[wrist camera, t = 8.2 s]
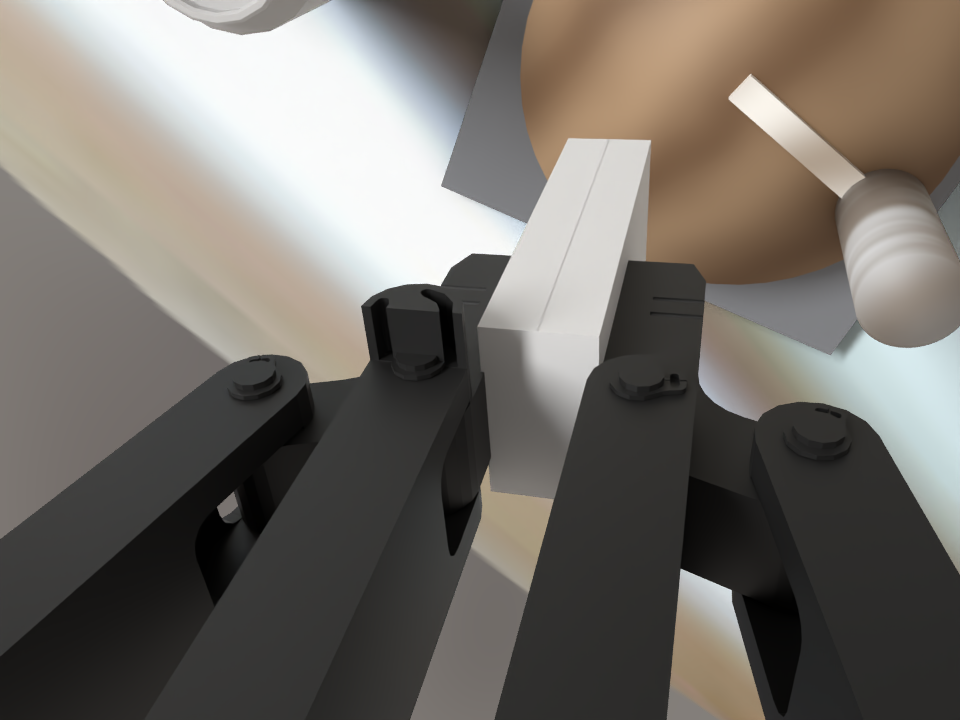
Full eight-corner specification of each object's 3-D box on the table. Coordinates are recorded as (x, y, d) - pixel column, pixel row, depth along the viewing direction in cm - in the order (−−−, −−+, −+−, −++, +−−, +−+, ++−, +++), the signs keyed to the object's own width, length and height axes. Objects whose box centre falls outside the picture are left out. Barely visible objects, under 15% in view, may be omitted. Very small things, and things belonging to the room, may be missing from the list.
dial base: (616, -326, 31) (611, -330, 30) (1155, -98, 31) (1169, -94, 29) (446, 178, 43) (439, 188, 42) (828, 344, 43) (830, 358, 42)
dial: (452, 97, 40) (378, 175, 31) (741, -306, 29) (740, -344, 21) (750, 342, 42) (752, 471, 34) (1106, 54, 32) (1229, 140, 24)
